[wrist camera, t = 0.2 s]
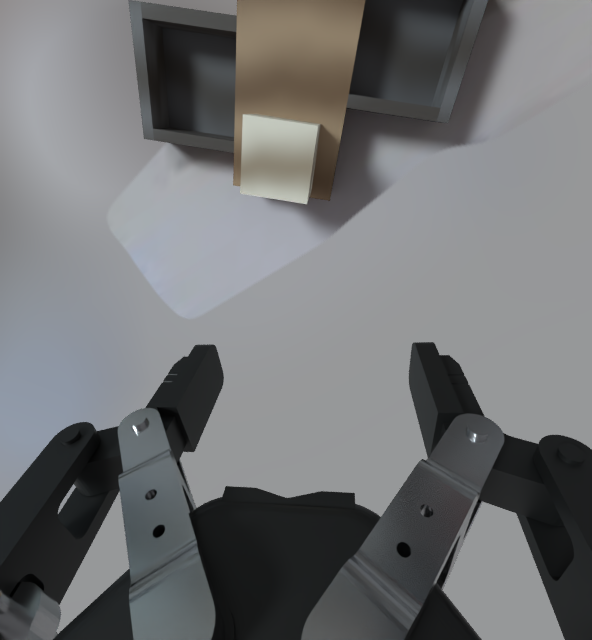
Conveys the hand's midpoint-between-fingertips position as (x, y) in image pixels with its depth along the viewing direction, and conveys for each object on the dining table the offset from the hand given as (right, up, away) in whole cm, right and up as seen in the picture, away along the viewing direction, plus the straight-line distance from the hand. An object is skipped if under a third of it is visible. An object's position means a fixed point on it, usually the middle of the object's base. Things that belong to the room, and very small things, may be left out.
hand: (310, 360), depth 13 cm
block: (-2, +18, +18) cm, 25 cm away
